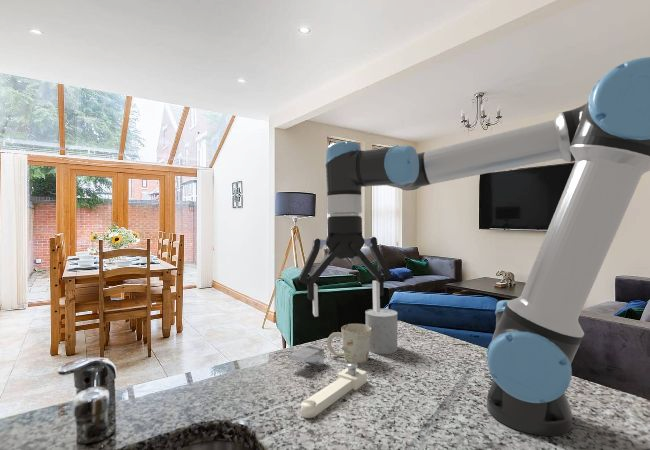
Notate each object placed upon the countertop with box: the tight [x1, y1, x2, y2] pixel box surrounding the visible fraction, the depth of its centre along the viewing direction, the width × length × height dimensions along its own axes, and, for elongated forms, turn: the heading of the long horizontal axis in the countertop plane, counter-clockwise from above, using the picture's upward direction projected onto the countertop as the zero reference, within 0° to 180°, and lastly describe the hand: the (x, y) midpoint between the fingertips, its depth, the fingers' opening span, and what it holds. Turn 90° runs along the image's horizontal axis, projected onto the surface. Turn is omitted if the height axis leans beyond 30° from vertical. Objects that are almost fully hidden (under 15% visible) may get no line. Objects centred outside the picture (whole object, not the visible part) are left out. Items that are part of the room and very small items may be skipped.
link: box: [300, 367, 368, 419], centre depth 79 cm, size 20×5×2 cm, turn 144°
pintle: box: [346, 362, 359, 376], centre depth 86 cm, size 3×3×5 cm
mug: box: [326, 323, 371, 364], centre depth 102 cm, size 8×13×10 cm, turn 78°
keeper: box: [288, 344, 325, 367], centre depth 96 cm, size 5×8×5 cm, turn 144°
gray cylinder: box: [364, 307, 399, 355], centre depth 109 cm, size 10×10×12 cm
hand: (346, 313), depth 79 cm, fingers open, 13 cm apart
